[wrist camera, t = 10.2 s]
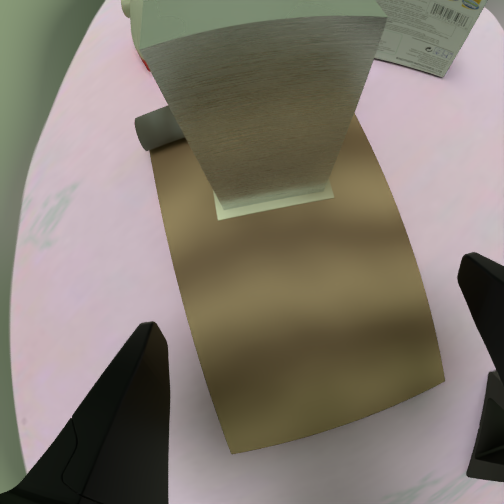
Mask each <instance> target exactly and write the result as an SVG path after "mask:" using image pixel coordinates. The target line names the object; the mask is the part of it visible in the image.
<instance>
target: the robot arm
mask: <svg viewBox="0 0 504 504" xmlns="http://www.w3.org/2000/svg"><path fill="white" fill-rule="evenodd" d="M457 279H458V284H459V286H460V288H461V291H462V293H463V295H464V298H465V300H466V302H467V305H468V307H469V310H470V312H471V315H472V317H473V320H474V322H475V324H476V327H477V329H478V331H479V333H480V335H481V337H482V339H483V341H484V343H485V345H486V348H487V350H488V352H489V354H490V356H491V359H492V361H493V363H494V366H495V368H496V370H497V373H498V375H499V378H500V380H501V383H502V385H503V388H504V266H502V265H500V264H498V263H496V262H494V261H492V260H490V259H488V258H486V257H484V256H482V255H480V254H478V253H476V252H472V253H468V254H465V255H464V256H463V257H462V260H461V264H460V268H459V272H458V276H457ZM169 418H170V379H169V361H168V345H167V341H166V339H165V337H164V335H163V334H162V332H161V330H160V329H159V327H158V325H157V324H156V323H155V322H153V321H151V322H144V323H141V324H140V325H139V326H138V327H137V328H136V330H135V331H134V332H133V334H132V335H131V336H130V337H129V339H128V340H127V341H126V343H125V344H124V345H123V347H122V348H121V349H120V351H119V352H118V353H117V355H116V356H115V357H114V359H113V360H112V361H111V363H110V364H109V365H108V367H107V368H106V369H105V371H104V372H103V374H102V375H101V376H100V378H99V379H98V380H97V382H96V383H95V384H94V386H93V387H92V389H91V390H90V391H89V393H88V394H87V396H86V397H85V398H84V400H83V401H82V403H81V404H80V405H79V407H78V408H77V410H76V411H75V412H74V414H73V415H72V418H70V419H69V421H68V422H67V424H66V425H65V427H64V428H63V429H62V431H61V432H60V434H59V435H58V436H57V438H56V439H55V440H54V442H53V443H52V444H51V446H50V447H49V448H48V449H47V451H46V452H45V453H44V454H43V456H42V457H41V458H40V459H39V460H38V462H37V463H36V464H35V465H34V466H33V468H32V469H31V470H30V471H29V473H28V474H27V475H26V476H25V478H24V479H23V480H22V481H21V482H20V483H19V484H18V485H17V486H16V487H14V488H13V489H11V490H9V491H7V492H4V493H1V494H0V504H168V452H169Z"/></svg>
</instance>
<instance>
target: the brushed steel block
mask: <svg viewBox="0 0 504 504" xmlns="http://www.w3.org/2000/svg"><path fill="white" fill-rule="evenodd" d="M387 18H388V17H387V15H386V14H385V13H384V11H383V10H382V9H381V7H380V6H379V5H378V3H377V2H376V1H375V0H143V8H142V19H141V32H140V47H139V50H140V52H141V54H142V56H143V58H144V60H145V62H146V63H147V65H148V67H149V69H150V71H151V73H152V75H153V77H154V79H155V81H156V83H157V84H158V86H159V88H160V90H161V92H162V94H163V96H164V98H165V100H166V102H167V104H168V105H169V107H170V109H171V111H172V113H173V115H174V117H175V119H176V121H177V123H178V124H179V126H180V128H181V130H182V132H183V134H184V136H185V138H186V140H187V141H188V143H189V145H190V147H191V149H192V151H193V153H194V155H195V157H196V159H197V160H198V162H199V164H200V166H201V168H202V170H203V172H204V174H205V176H206V177H207V179H208V181H209V183H210V185H211V187H212V189H213V191H214V192H215V194H216V196H217V198H218V200H219V202H220V204H221V206H222V208H223V209H224V210H228V209H233V208H238V207H243V206H248V205H253V204H258V203H263V202H268V201H273V200H279V199H284V198H289V197H295V196H300V195H306V194H311V193H317V192H323V191H324V189H325V187H326V184H327V182H328V179H329V177H330V174H331V172H332V169H333V167H334V164H335V162H336V159H337V157H338V154H339V151H340V149H341V146H342V144H343V141H344V139H345V136H346V133H347V131H348V128H349V126H350V123H351V120H352V118H353V115H354V112H355V110H356V107H357V104H358V102H359V99H360V96H361V93H362V91H363V88H364V85H365V82H366V80H367V77H368V74H369V71H370V68H371V65H372V63H373V60H374V57H375V54H376V51H377V48H378V45H379V42H380V39H381V36H382V33H383V31H384V28H385V24H386V21H387Z"/></svg>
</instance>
